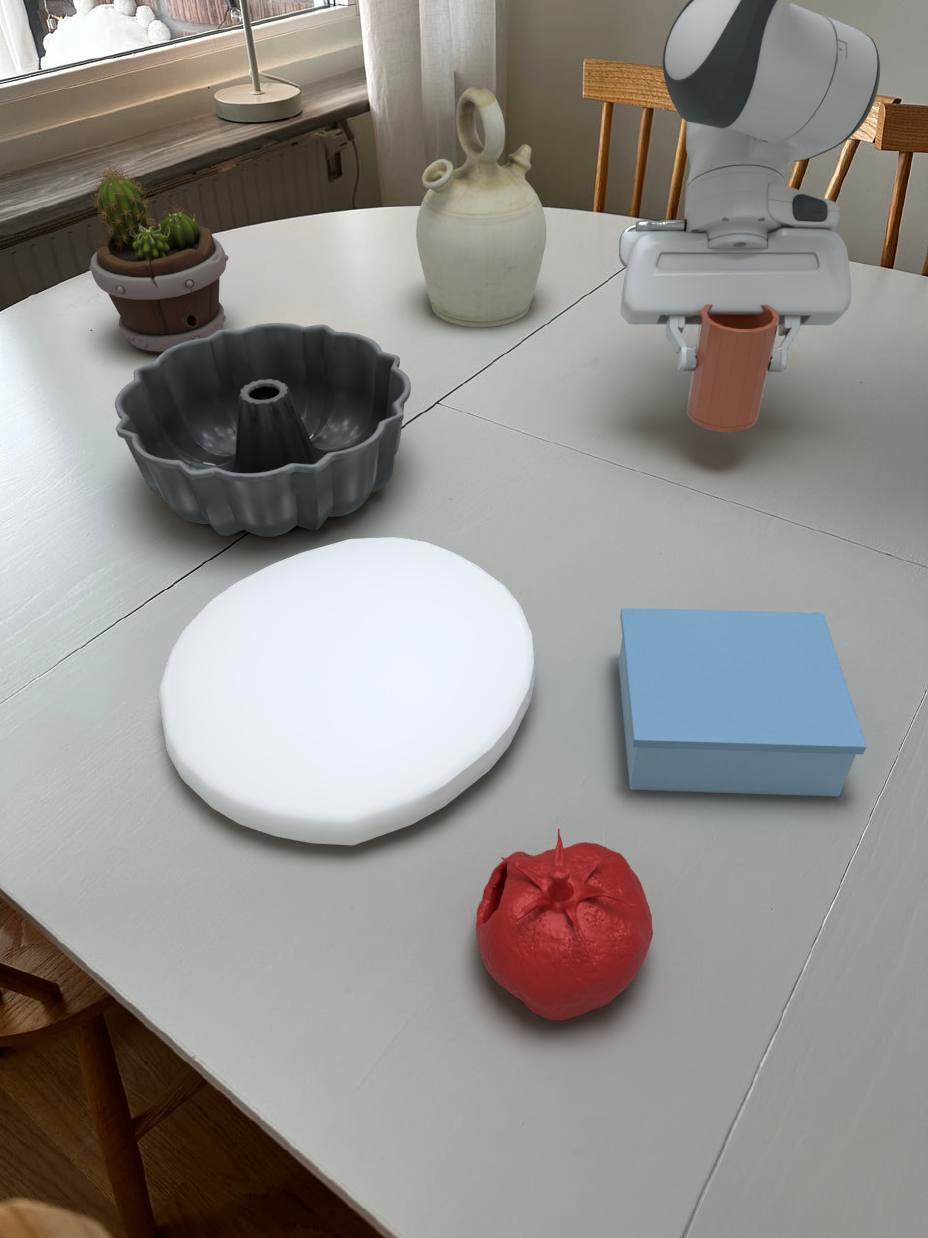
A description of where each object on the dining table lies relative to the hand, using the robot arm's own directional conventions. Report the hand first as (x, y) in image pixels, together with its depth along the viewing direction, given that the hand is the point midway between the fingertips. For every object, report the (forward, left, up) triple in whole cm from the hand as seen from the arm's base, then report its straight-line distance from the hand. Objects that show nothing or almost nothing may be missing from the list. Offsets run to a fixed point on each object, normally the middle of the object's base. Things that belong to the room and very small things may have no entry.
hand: (732, 370), depth 89 cm
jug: (+24, -34, -10) cm, 43 cm away
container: (+4, +34, -10) cm, 36 cm away
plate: (+31, +32, -10) cm, 46 cm away
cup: (0, -1, -5) cm, 5 cm away
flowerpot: (+60, -25, -10) cm, 66 cm away
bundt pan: (+42, +4, -10) cm, 44 cm away
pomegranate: (+16, +52, -10) cm, 56 cm away
